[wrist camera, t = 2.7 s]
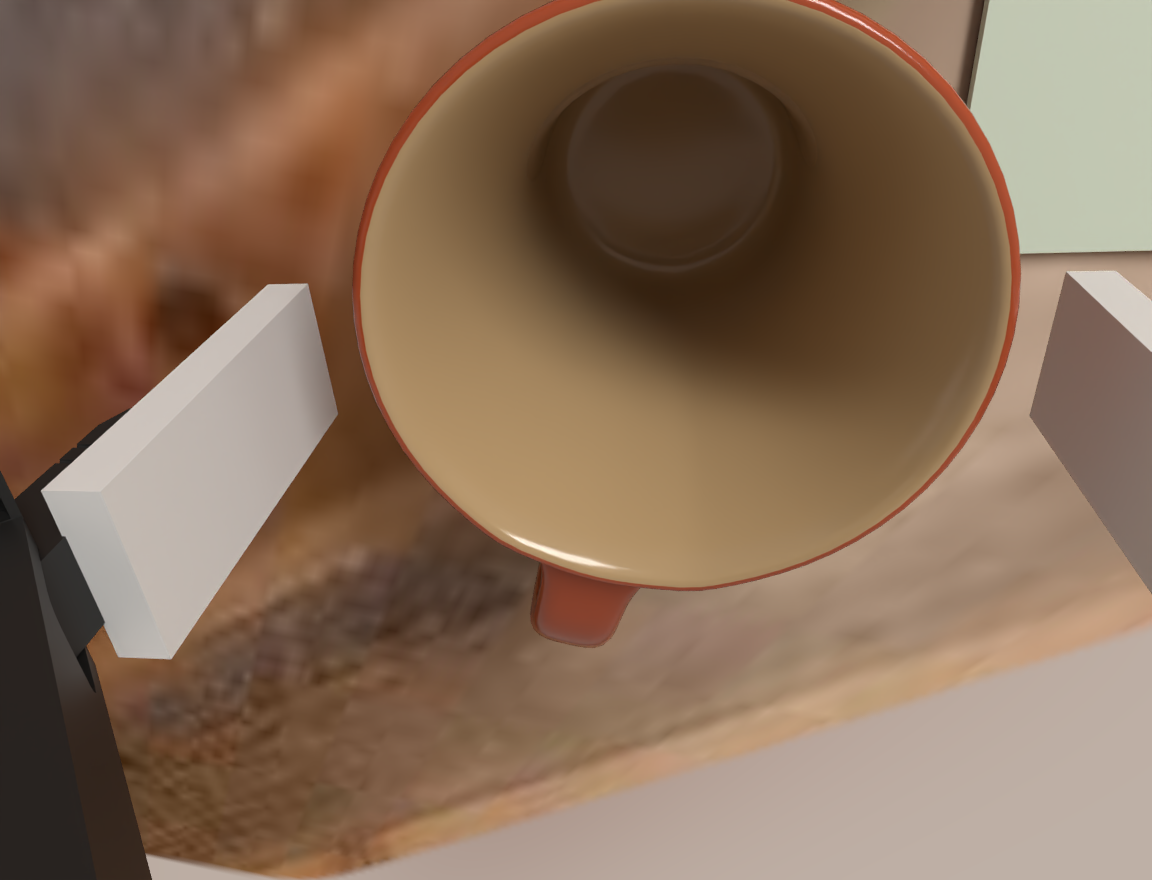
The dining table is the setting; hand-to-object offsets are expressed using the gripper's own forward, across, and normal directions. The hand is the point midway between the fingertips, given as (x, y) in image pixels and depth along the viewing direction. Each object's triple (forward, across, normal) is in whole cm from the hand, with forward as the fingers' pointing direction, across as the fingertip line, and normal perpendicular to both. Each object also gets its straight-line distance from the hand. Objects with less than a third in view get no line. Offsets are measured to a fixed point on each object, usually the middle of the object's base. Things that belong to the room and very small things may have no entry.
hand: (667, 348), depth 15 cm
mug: (+7, 0, 0) cm, 7 cm away
